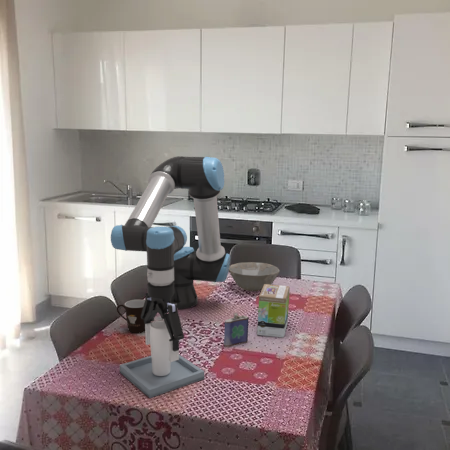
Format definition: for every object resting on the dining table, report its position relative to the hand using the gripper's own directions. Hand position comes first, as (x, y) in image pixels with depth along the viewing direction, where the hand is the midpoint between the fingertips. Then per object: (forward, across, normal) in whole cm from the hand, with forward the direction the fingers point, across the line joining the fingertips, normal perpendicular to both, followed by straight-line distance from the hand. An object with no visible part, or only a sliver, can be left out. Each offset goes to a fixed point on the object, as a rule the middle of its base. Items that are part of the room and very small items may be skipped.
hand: (161, 351), depth 146 cm
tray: (+7, 0, 0) cm, 7 cm away
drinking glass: (+7, 0, 0) cm, 7 cm away
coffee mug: (+8, -36, +10) cm, 38 cm away
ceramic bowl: (+9, -46, +75) cm, 88 cm away
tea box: (+8, -7, +51) cm, 52 cm away
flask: (+8, -5, +32) cm, 33 cm away
